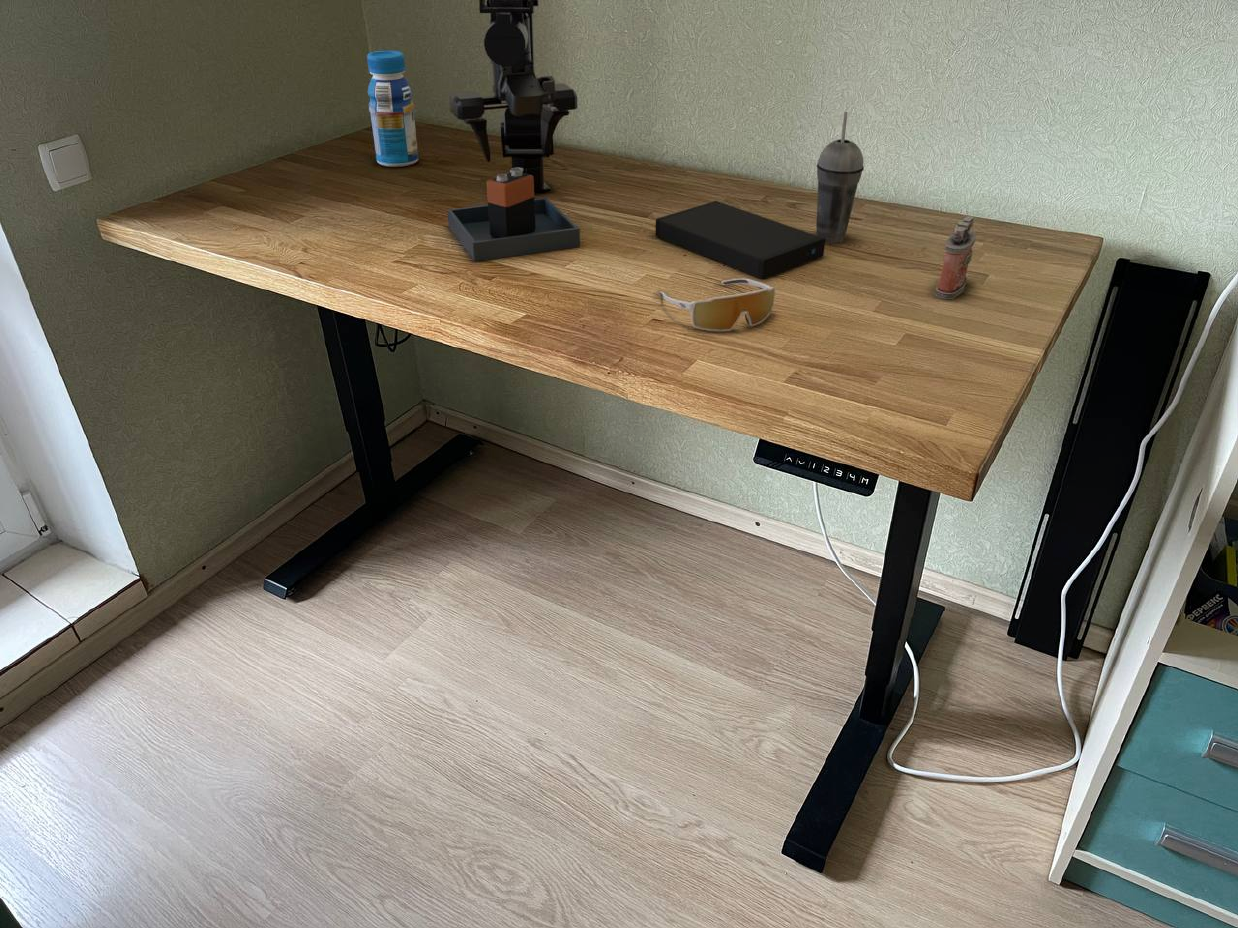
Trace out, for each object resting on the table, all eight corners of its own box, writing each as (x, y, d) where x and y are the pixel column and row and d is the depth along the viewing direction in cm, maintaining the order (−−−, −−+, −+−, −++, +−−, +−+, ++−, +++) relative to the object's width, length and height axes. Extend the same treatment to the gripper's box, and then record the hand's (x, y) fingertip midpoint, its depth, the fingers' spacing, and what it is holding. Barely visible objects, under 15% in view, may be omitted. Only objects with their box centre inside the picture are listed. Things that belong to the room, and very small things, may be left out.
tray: (448, 227, 158) (447, 209, 156) (547, 214, 163) (546, 197, 162) (474, 261, 145) (472, 243, 144) (580, 247, 151) (579, 228, 149)
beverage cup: (857, 234, 157) (877, 108, 146) (847, 249, 151) (866, 118, 140) (814, 227, 159) (830, 102, 148) (802, 241, 154) (817, 113, 143)
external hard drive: (716, 217, 163) (717, 200, 161) (823, 256, 148) (826, 238, 147) (655, 236, 155) (655, 218, 153) (762, 279, 140) (764, 260, 139)
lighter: (954, 300, 135) (969, 232, 129) (930, 295, 136) (944, 227, 131) (969, 282, 140) (985, 215, 135) (947, 277, 142) (960, 211, 136)
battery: (537, 230, 155) (534, 169, 150) (509, 242, 151) (505, 179, 145) (517, 225, 158) (513, 164, 152) (488, 236, 153) (484, 174, 147)
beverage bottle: (368, 161, 189) (353, 53, 178) (404, 153, 193) (392, 47, 182) (390, 171, 184) (377, 60, 172) (428, 162, 188) (417, 54, 177)
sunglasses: (697, 340, 123) (696, 302, 121) (647, 310, 136) (646, 276, 134) (790, 322, 128) (791, 285, 126) (734, 295, 141) (735, 261, 138)
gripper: (462, 67, 132) (471, 180, 140) (589, 58, 138) (590, 166, 146) (444, 52, 140) (453, 159, 149) (564, 43, 146) (566, 147, 155)
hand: (516, 158), depth 150 cm, fingers open, 9 cm apart
